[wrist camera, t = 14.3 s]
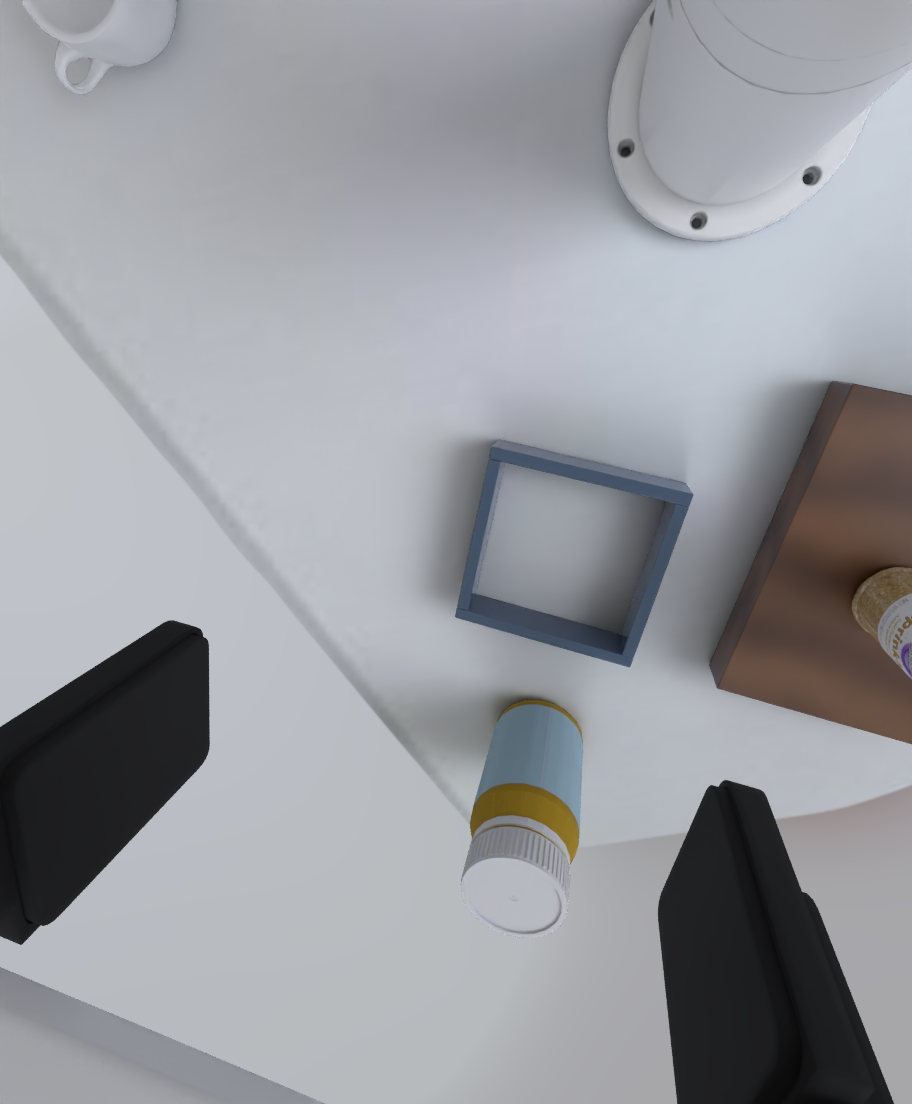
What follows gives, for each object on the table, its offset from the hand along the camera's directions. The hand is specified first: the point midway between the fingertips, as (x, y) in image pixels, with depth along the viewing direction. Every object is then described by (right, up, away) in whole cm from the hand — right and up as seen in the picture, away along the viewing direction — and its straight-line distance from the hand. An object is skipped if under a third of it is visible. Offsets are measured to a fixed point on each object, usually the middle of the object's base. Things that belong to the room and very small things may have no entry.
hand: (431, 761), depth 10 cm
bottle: (+7, -11, +35) cm, 38 cm away
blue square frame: (+8, +4, +29) cm, 31 cm away
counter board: (+27, +3, +25) cm, 37 cm away
